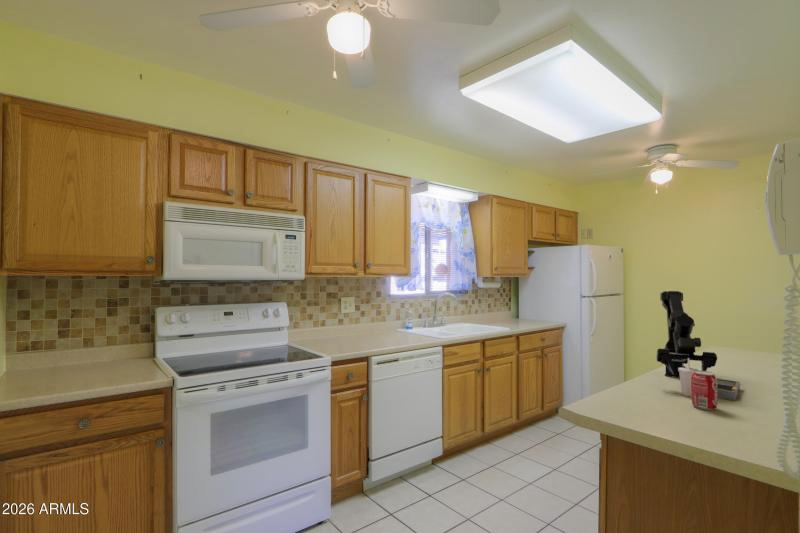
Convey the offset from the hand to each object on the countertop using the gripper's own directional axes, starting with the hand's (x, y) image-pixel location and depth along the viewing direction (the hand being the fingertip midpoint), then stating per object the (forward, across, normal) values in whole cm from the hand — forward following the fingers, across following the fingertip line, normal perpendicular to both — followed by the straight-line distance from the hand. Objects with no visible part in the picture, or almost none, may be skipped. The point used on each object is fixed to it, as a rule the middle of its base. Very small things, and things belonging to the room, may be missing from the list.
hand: (688, 376), depth 149 cm
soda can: (+15, +2, -4) cm, 16 cm away
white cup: (+4, 0, +6) cm, 8 cm away
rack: (-3, +12, +13) cm, 18 cm away
